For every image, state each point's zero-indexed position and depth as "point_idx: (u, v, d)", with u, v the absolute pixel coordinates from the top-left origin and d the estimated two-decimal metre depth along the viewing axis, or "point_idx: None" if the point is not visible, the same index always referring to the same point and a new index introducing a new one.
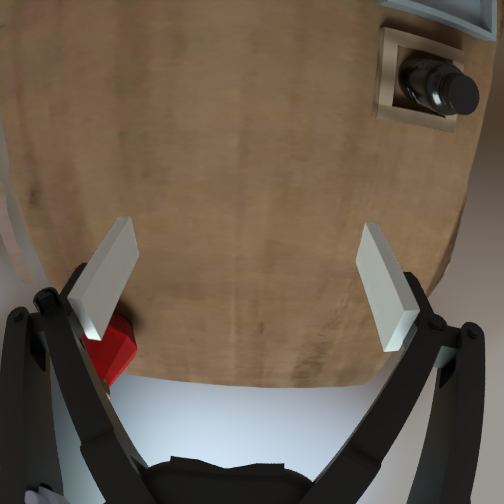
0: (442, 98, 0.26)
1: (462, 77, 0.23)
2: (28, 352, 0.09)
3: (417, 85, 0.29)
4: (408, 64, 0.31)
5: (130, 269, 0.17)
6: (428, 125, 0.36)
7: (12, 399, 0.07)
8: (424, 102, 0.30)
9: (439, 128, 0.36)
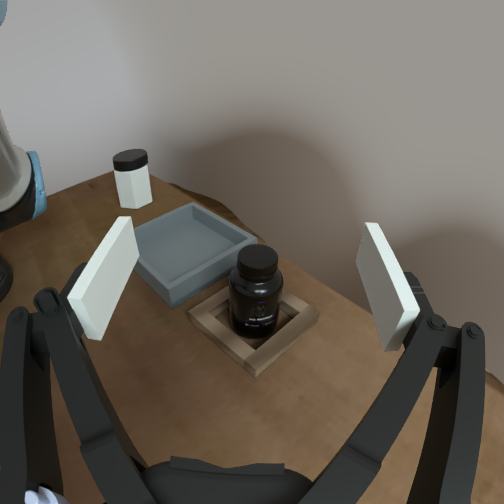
0: (252, 277, 0.36)
1: (241, 250, 0.37)
2: (28, 352, 0.09)
3: (239, 305, 0.38)
4: (229, 314, 0.42)
5: (130, 269, 0.17)
6: (297, 330, 0.40)
7: (12, 398, 0.07)
8: (258, 307, 0.37)
9: (307, 322, 0.41)
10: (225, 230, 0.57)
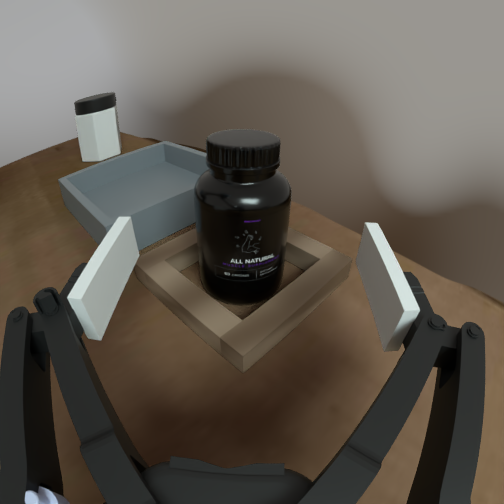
0: (232, 169, 0.18)
1: (215, 133, 0.20)
2: (28, 352, 0.09)
3: (212, 232, 0.20)
4: None
5: (130, 269, 0.17)
6: (318, 285, 0.23)
7: (12, 398, 0.07)
8: (245, 232, 0.20)
9: (333, 273, 0.24)
10: (204, 165, 0.40)
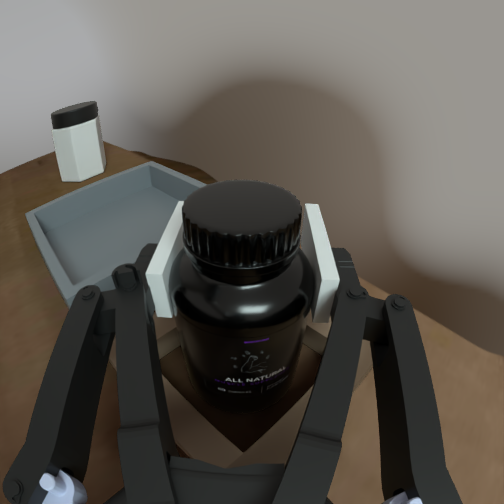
0: (223, 267, 0.11)
1: (197, 192, 0.13)
2: (90, 335, 0.10)
3: (197, 346, 0.13)
4: None
5: None
6: None
7: (59, 379, 0.08)
8: (246, 353, 0.13)
9: (362, 371, 0.17)
10: None
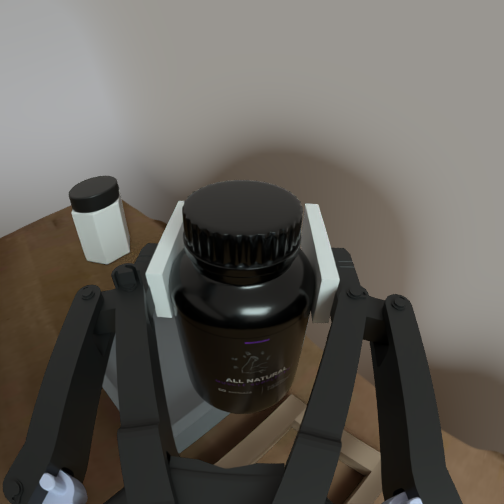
0: (224, 267, 0.11)
1: (197, 192, 0.13)
2: (90, 335, 0.10)
3: (197, 347, 0.13)
4: None
5: None
6: (369, 503, 0.18)
7: (59, 379, 0.08)
8: (247, 354, 0.13)
9: None
10: None
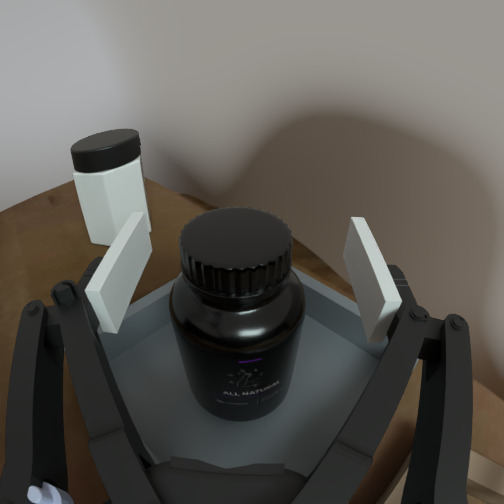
0: (218, 296, 0.12)
1: (193, 221, 0.14)
2: (42, 346, 0.10)
3: (196, 364, 0.14)
4: None
5: (144, 264, 0.17)
6: None
7: (22, 392, 0.08)
8: (241, 371, 0.13)
9: None
10: (339, 318, 0.23)
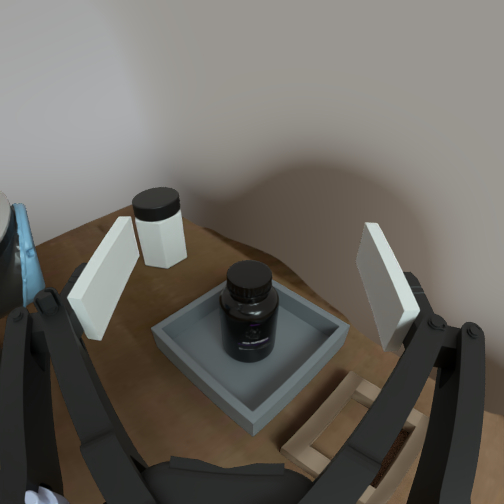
0: (243, 298, 0.32)
1: (231, 267, 0.34)
2: (28, 352, 0.09)
3: (231, 328, 0.34)
4: None
5: (130, 269, 0.17)
6: (417, 451, 0.25)
7: (12, 398, 0.07)
8: (251, 330, 0.33)
9: None
10: (302, 311, 0.42)
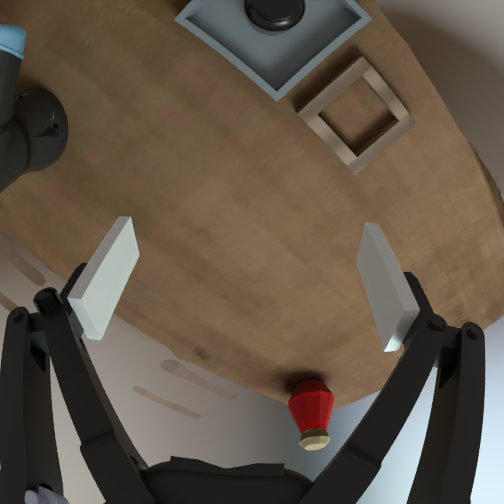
0: (270, 21, 0.25)
1: None
2: (28, 352, 0.09)
3: (257, 28, 0.29)
4: None
5: (130, 269, 0.17)
6: (393, 140, 0.41)
7: (12, 398, 0.07)
8: (277, 32, 0.29)
9: (402, 132, 0.41)
10: None
